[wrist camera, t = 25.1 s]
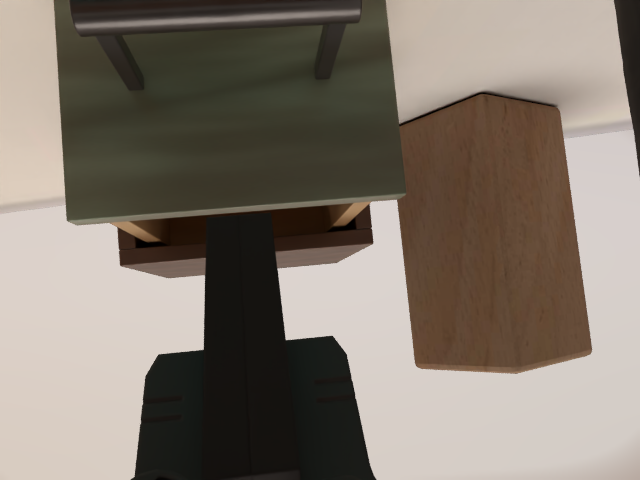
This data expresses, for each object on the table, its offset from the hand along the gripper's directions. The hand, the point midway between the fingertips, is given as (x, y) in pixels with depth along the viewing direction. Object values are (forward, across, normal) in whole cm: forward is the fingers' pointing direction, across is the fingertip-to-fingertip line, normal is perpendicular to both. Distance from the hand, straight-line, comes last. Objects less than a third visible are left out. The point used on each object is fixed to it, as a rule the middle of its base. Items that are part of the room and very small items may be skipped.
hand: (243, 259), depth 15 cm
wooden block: (+32, +19, -14) cm, 40 cm away
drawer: (+17, 0, -1) cm, 17 cm away
